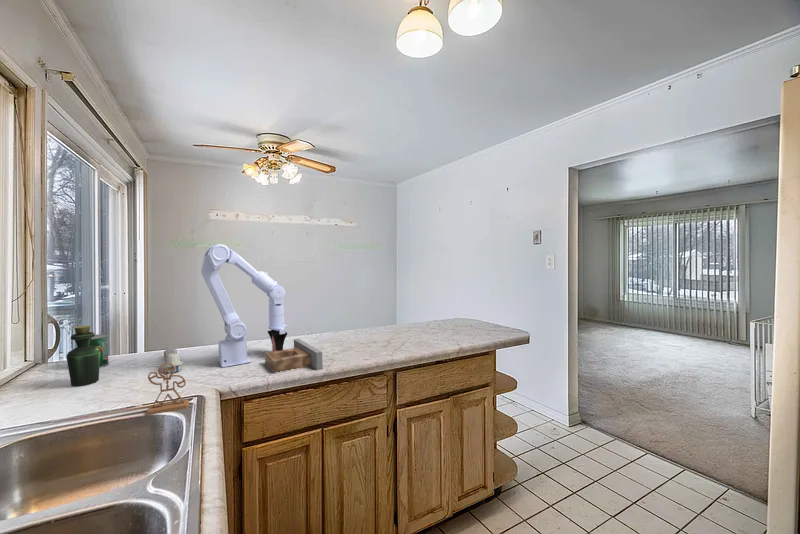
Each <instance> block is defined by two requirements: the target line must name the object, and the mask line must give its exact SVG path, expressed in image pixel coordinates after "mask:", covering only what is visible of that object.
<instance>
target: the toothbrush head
mask: <svg viewBox="0 0 800 534" xmlns="http://www.w3.org/2000/svg"><path fill="white" fill-rule="evenodd" d="M163 358H165V359H166V363H171V364H173V365H174V366H175V372H177V373H178V372H180V371H182V370H183V367H182V366H183V364H184V362H183V360H182V361H181V358H180V355H179V353H178V350H177V349H176V348H174V347H167V348H166V349H165V350H164V351H163ZM163 366H164V367H163V368H166V369H168V368H169V367H171V368H173V367H172V366H171V365H168V364H167V365H163ZM171 371H172V372H171ZM173 371H174V369H171V370H170V371H168V370H165V373H166V374H167V373H170V372H171V373H173ZM175 372H174V373H175ZM171 373H170V374H171Z"/></svg>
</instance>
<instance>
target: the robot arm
mask: <svg viewBox="0 0 800 534" xmlns="http://www.w3.org/2000/svg"><path fill="white" fill-rule="evenodd" d="M203 255H204V256H203V262H202V266H201V275H202V277H203V279H204V281H205V283H206V286H207V288H208V289H209V292H210V294H211V296H212V298H213V301H214V302H215V305H216V307H217V309H218V311H219V313H220V315H221V317H222V321H223V323H224V332H225V333H226V336H225V338H224V340H219V341H218V363H219V365H220V366H221V368H227V367H233V366H237V365H243V364H250V363H251V360H250V359H249V358H248V343H247V340H248V338H247V337H248V336H247V333H248V327H247V325H246V324H245V323H244V322H242V321H241V318H240V317H239V315H238V313H237V312H236V310H235V307H234V306H233V304H232V301H231V299H230V297H229V295H228V293H227V291H226V288H225V286H224V284H223V282H222V280H221V277H220V275H219V270H220V269H221V268H222V265H223V264H225V263H227V264H231V265H234V266H236V268H238V269H239V270H240V271H242V272H244V273H245V274H246V275H247V276H249V277H250V278H251V283H252V284H253V285H254V286H256V287H257V288H258V289H259V290H261V291H262V292H263V293H265V294H266V296H267V297H268V322H269V323H268V324H269V326H268V330H267V333H268V335H269V338H270V341H271V342H272V336H273V338H274V341H275V347H276V350H277V351H280V350H282V349H283V350H284V344H285V340H286V338H287V335H288V332H287V331H286V328H287V327H288V324H285V321H286V320H285V303H284V302H285V297H286V294H287V291H285V287H284V286H282V285H280V284H278V283H279V282H278V281H277V280H274V279H273V278H272V277H270V276H269V272H266V271H263V270H260V271H259V270H258V271H257V270H256V269H255V267H253V266H252V265H251V264H250V263H248V262H247V260H245V259H244V258H243V257H242V256H241V255H239V254H238V253H237V252H236V251H235V250H232V249H230V248H229V247H228V246H227V245H225V244H222V243H217V244H213V245H211V246H210V247H208V249H207V250H206V252H205V253H204V254H203ZM249 362H250V363H249Z"/></svg>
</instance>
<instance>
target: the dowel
mask: <svg viewBox="0 0 800 534" xmlns="http://www.w3.org/2000/svg"><path fill="white" fill-rule="evenodd" d="M271 348H272V350H271V352H275V351H277V350H276V347H275V341H274V338H273V336H272V341H271ZM282 350H284V348H283V349H282ZM280 351H281V350H280Z"/></svg>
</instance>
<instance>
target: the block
mask: <svg viewBox="0 0 800 534" xmlns="http://www.w3.org/2000/svg"><path fill="white" fill-rule="evenodd" d="M264 363H265V364H264V365H266V364H267V365H268V366H269V367H270V368H271V369H272V370H273V371H274V372H279V373H281V372H280V371H284V372H286V371H285V370H289V371H292V370H291V369H294V370H297V368H298V369H302V367H303V368H307V367H312V366H311V355H310V354H308V353H307V352H305V351H304V350H302V349H300V348H299V347H298V348H294V347H292V348H287V349H283V350H281V351H275V352H272V351H269V352H264ZM267 365H266V366H267ZM268 366H267V367H268ZM269 367H268V368H269ZM270 368H269V369H270ZM271 369H270V370H271ZM272 370H271V371H272ZM273 371H272V372H273ZM274 372H273V373H274Z"/></svg>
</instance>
